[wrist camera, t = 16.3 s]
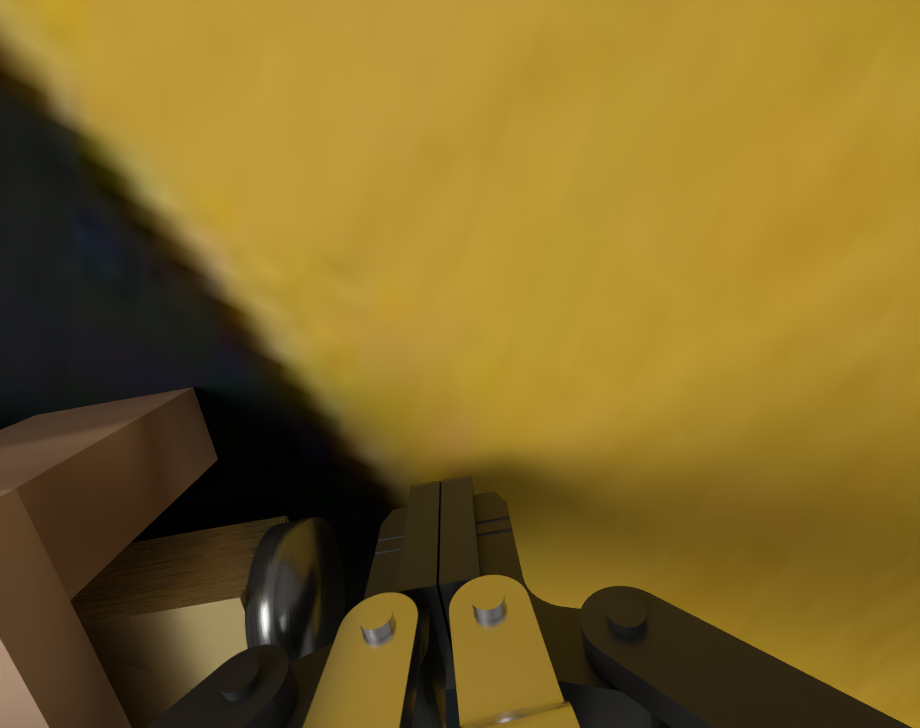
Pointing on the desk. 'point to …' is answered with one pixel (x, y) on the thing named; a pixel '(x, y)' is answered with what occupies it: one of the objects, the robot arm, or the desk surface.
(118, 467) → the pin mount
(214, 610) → the lock pin
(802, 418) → the desk surface
